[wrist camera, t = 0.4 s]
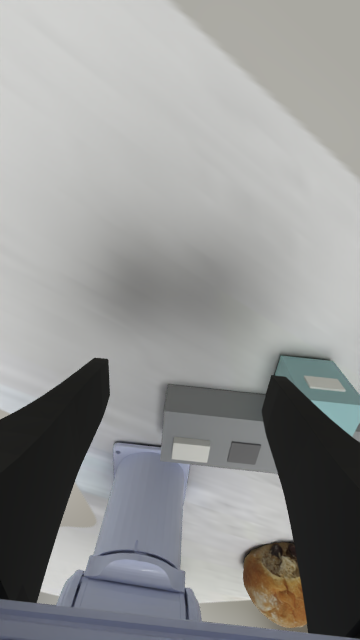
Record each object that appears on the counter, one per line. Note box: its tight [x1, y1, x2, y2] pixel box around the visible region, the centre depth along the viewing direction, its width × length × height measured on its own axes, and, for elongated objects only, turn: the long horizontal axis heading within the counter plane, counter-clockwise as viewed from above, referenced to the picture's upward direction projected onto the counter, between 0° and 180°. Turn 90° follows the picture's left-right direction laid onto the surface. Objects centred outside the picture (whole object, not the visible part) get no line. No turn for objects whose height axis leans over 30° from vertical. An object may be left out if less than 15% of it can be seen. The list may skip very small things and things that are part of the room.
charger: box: [275, 356, 360, 436], centre depth 21 cm, size 6×4×5 cm
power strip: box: [160, 384, 360, 474], centre depth 24 cm, size 6×28×4 cm, turn 85°
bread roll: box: [243, 542, 307, 628], centre depth 35 cm, size 10×10×8 cm
